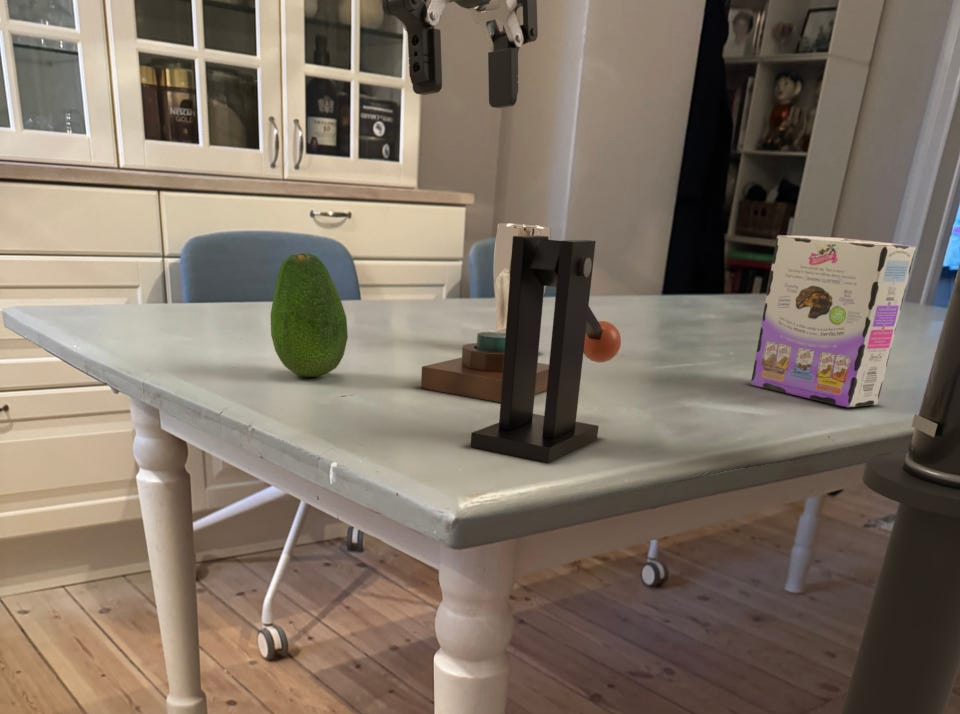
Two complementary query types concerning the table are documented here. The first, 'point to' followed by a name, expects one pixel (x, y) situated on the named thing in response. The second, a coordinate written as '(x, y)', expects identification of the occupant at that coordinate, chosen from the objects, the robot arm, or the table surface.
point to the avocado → (307, 317)
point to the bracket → (525, 301)
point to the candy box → (831, 317)
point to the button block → (474, 375)
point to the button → (491, 341)
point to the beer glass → (508, 264)
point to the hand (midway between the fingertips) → (467, 100)
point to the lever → (599, 334)
